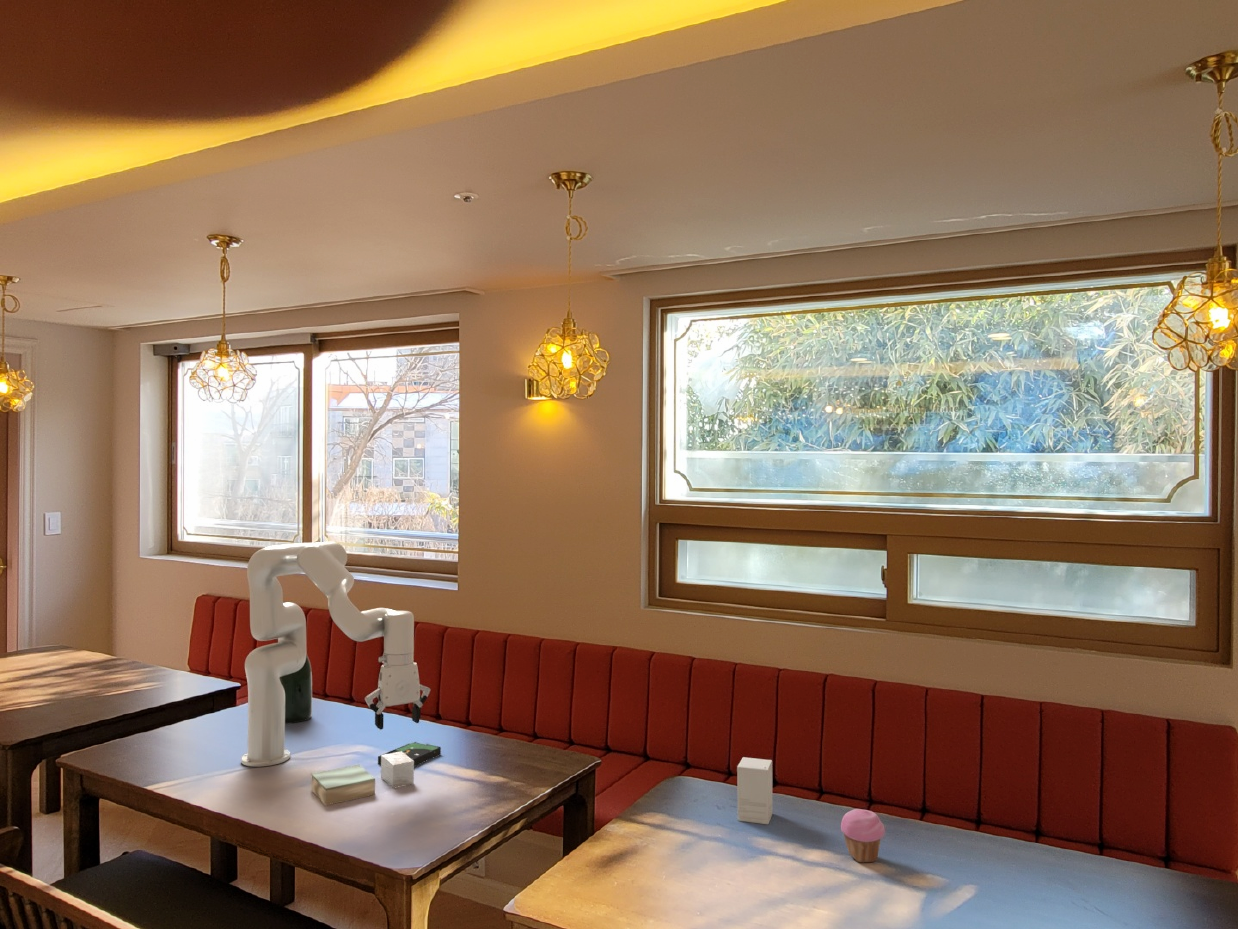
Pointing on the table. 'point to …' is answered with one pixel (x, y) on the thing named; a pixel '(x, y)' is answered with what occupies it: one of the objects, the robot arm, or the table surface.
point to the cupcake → (862, 834)
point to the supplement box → (754, 790)
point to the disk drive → (417, 752)
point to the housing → (397, 769)
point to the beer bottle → (298, 693)
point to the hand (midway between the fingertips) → (398, 725)
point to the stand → (343, 784)
